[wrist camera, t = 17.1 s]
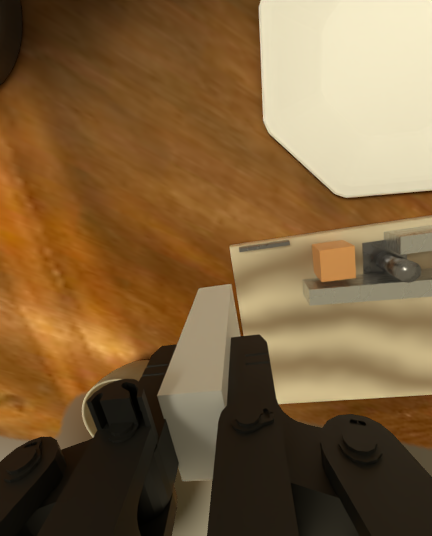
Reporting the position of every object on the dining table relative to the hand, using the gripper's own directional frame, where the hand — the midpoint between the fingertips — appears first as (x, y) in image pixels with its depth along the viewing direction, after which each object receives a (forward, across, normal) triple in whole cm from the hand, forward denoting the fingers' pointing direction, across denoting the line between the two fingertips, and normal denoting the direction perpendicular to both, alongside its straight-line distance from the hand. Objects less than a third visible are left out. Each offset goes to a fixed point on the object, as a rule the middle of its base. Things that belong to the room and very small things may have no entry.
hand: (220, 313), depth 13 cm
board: (+17, +18, -11) cm, 27 cm away
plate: (+18, +17, +14) cm, 28 cm away
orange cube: (+16, +9, -3) cm, 19 cm away
